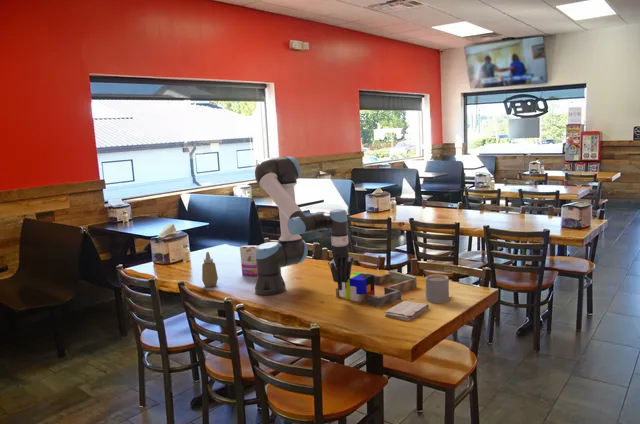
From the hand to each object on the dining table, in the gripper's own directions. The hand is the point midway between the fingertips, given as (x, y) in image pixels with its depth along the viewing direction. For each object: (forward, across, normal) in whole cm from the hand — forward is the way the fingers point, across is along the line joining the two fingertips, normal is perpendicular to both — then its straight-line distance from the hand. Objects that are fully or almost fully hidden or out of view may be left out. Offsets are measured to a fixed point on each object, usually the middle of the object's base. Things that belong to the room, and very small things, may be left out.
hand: (342, 296), depth 236 cm
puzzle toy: (+3, +10, 0) cm, 11 cm away
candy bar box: (+3, -4, +72) cm, 72 cm away
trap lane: (+3, +21, 0) cm, 21 cm away
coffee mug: (+3, +33, -27) cm, 43 cm away
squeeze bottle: (+3, -30, +71) cm, 77 cm away
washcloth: (+4, +10, -29) cm, 31 cm away
